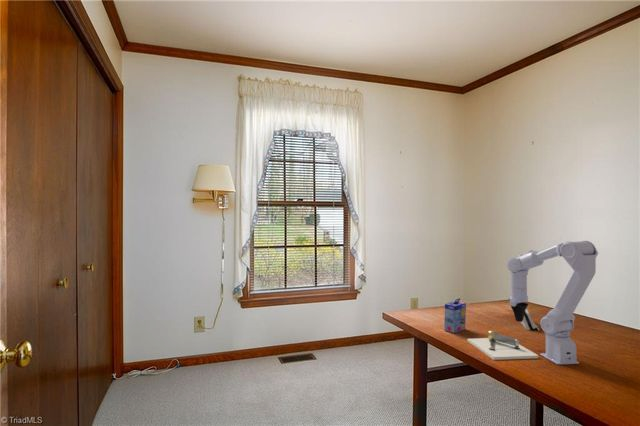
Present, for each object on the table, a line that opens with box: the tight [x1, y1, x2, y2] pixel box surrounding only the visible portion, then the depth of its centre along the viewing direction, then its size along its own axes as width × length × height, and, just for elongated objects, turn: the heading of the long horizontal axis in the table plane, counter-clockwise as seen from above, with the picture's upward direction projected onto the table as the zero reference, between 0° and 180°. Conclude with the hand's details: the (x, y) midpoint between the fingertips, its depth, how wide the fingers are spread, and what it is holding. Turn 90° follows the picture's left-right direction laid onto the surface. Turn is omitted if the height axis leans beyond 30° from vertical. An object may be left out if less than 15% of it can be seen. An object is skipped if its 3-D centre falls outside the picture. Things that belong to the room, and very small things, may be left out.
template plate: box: [467, 337, 539, 361], centre depth 143 cm, size 20×17×2 cm
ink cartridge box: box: [444, 297, 467, 334], centre depth 168 cm, size 10×6×14 cm, turn 130°
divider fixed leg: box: [490, 341, 494, 350], centre depth 144 cm, size 10×1×1 cm, turn 154°
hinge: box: [520, 308, 540, 331], centre depth 175 cm, size 17×5×10 cm, turn 164°
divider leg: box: [487, 329, 520, 348], centre depth 146 cm, size 12×3×3 cm, turn 33°
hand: (519, 321), depth 148 cm, fingers closed
